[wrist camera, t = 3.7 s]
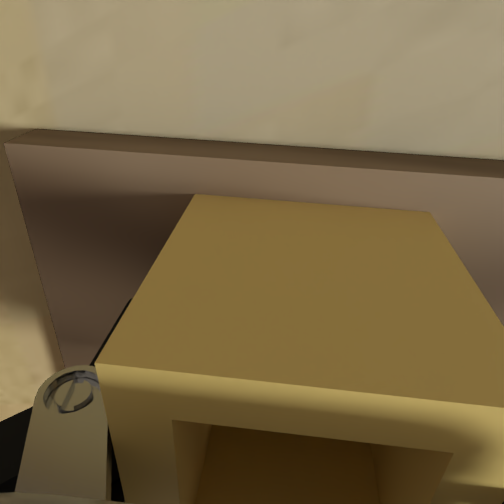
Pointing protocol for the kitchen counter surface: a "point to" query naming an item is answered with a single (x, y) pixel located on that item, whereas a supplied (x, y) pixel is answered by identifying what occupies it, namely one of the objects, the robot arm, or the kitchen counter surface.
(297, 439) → the collar
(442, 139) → the kitchen counter surface
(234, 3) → the kitchen counter surface
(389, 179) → the post board
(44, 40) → the kitchen counter surface
